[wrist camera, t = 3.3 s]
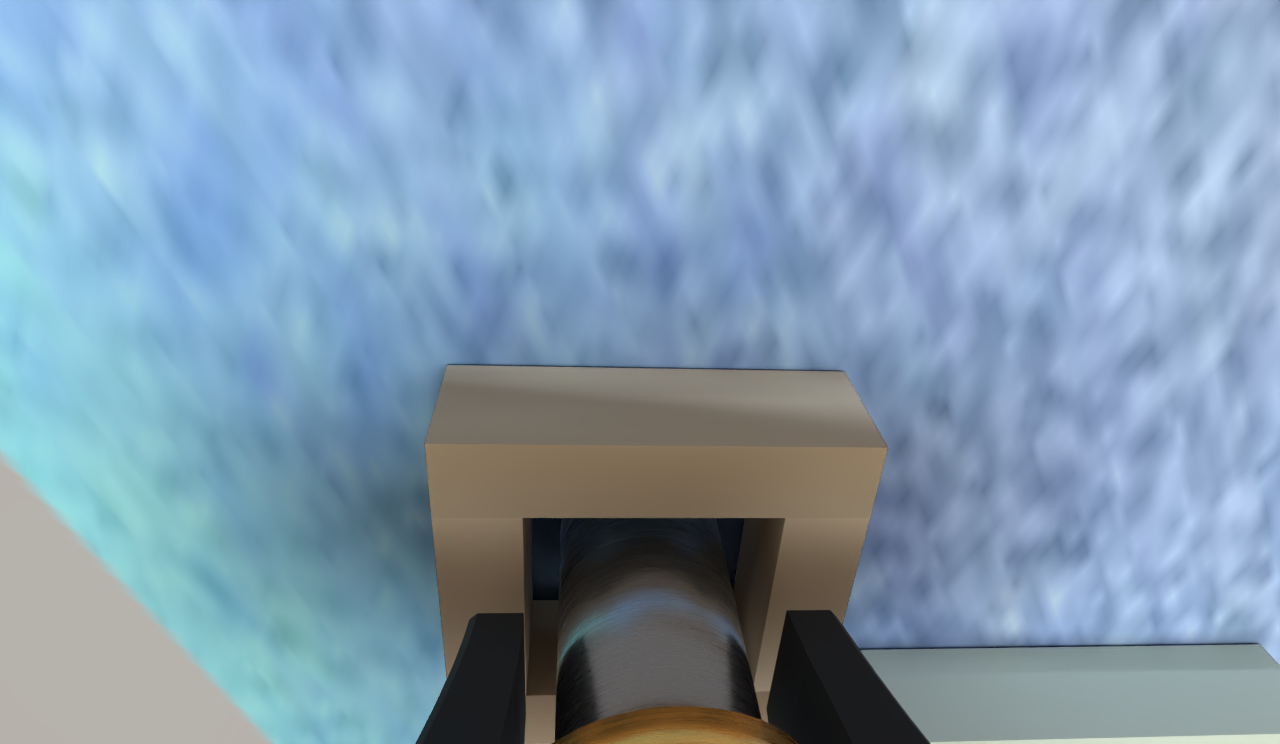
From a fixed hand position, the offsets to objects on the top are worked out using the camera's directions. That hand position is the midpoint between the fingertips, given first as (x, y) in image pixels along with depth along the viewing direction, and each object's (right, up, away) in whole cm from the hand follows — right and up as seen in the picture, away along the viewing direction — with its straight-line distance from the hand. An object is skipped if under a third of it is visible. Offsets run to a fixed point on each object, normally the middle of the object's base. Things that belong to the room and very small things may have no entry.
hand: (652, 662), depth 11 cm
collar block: (0, +1, +3) cm, 3 cm away
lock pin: (0, +1, +3) cm, 3 cm away
